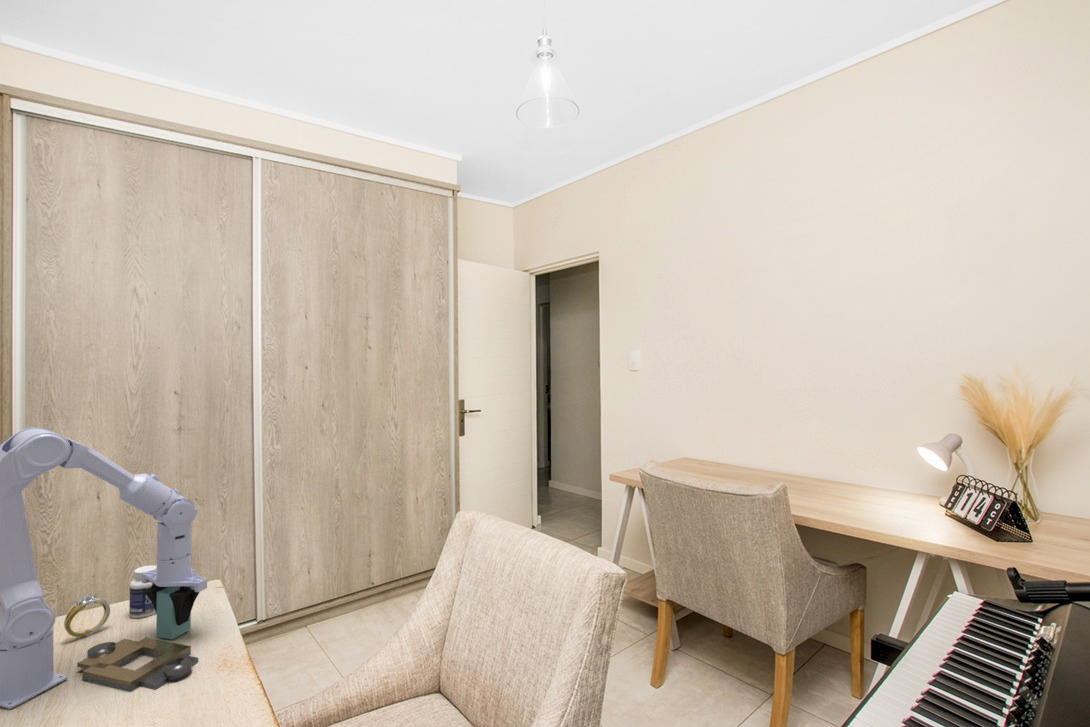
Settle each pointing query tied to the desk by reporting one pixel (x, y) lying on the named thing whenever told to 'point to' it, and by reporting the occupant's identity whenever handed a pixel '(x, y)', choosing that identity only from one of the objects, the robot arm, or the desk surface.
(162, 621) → the teal pin
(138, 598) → the pill bottle
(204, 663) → the desk surface
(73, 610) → the ring
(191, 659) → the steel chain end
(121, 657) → the tan slotted board
